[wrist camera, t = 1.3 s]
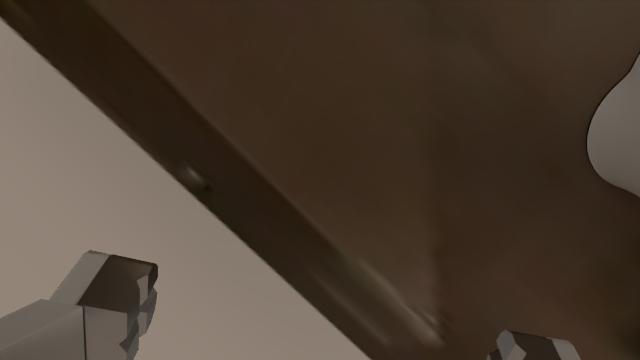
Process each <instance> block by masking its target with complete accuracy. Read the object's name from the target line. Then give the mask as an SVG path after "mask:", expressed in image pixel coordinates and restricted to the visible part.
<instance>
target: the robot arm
mask: <svg viewBox="0 0 640 360" xmlns="http://www.w3.org/2000/svg"><path fill="white" fill-rule="evenodd" d="M587 150H588V155H589V159H590V161H591V164H592V166H593V168H594V169H595V171H596V172H597V173H598V174H599V175H600V176H601V177H602V178H603V179H604V180H606V181H607V182H609V183H611V184H612V185H615V186H617V187H620V188H622V189H625V190H627V191H629V192H631V193H633V194H635V195H636V196H638V197H640V54H639V56H638V58H637V60H636V62H635V64H634V66H633V68H632V70H631V71H630V72H629V73H628V75H627V76H626V77H625V78H624V79H623V80H622V81H621V82H620V83H618V84H617V85H616V86H615V87H614V88H613V89H612V90H611V91H610V93H609V94H608V95H607V96H606V97H605V99H604V100H603V101H602V103H601V104H600V106H599V107H598V109H597V111H596V112H595V114H594V117H593V119H592V121H591V124H590V127H589V131H588V137H587ZM157 277H158V266H157V265H156V264H155V263H150V262H146V261H140V260H136V259H131V258H127V257H122V256H117V255H110V254H105V253H101V252H97V251H92V250H90V251H88V252H86V253H85V254H83V256H82V257H81V258H80V260H79V261H78V262H77V264H76V265H75V267H74V268H73V269H72V270H71V272H70V273H69V274H68V275H67V277H66V278H65V279H64V281H63V282H62V283H61V284H60V286H59V287H58V289H57V290H56V291H55V292H54V294H53V295H52V296H51V298H50V299H49V300H43V299H41V300H39V301H36V302H34V303H32V304H30V305H28V306H26V307H23V308H21V309H19V310H17V311H15V312H13V313H11V314H9V315H6V316H4V317H2V318H0V360H133V359H134V357H135V355H136V353H137V351H138V346H139V337H140V336H142V335H144V334H145V333H146V332H147V329H148V327H149V325H150V323H151V319H152V317H153V313H154V310H155V305H156V298H157V292H156V290H155V289H154V288H153V285H154V284H155V282H156V280H157ZM497 344H498V347H499V349H497V350H495V351H493V352H492V353H490V354H489V355H488V357H487V359H486V360H581V359H580V358H579V356H578V354H577V352H576V350H575V348H574V346H573V345H572V344H571V343H570V342H569V341H566V340H561V339H555V338H549V337H542V336H537V335H531V334H526V333H520V332H514V331H509V330H505V331H503V332H502V333H501V334H500V335H499V337H498V339H497Z"/></svg>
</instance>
